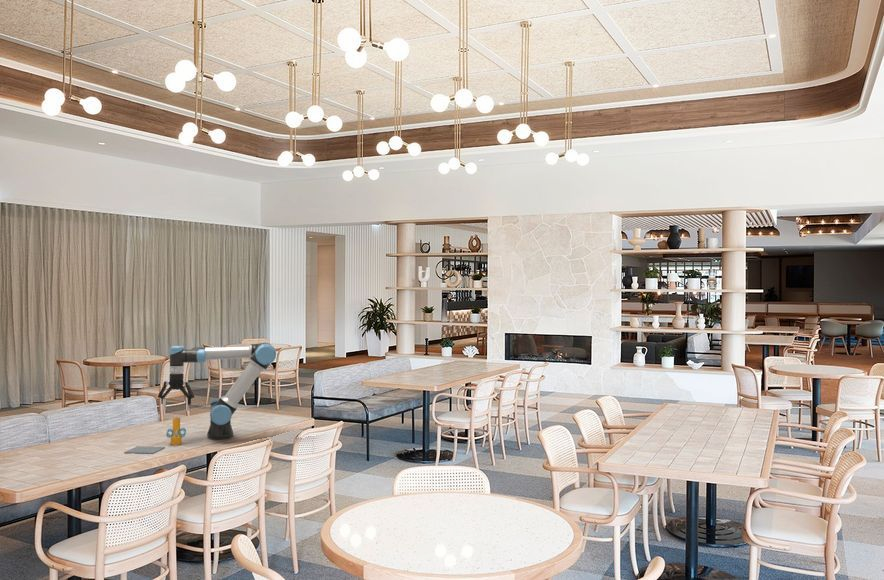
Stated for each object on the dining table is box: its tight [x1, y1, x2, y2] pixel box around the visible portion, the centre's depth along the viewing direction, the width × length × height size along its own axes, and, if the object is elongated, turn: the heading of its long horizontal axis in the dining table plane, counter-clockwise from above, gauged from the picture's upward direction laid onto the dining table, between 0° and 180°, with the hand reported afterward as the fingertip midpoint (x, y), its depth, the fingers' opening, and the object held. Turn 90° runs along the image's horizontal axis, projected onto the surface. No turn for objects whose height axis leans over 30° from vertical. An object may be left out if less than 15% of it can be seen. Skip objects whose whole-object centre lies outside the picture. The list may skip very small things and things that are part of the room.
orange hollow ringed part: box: [165, 416, 187, 446], centre depth 401 cm, size 12×10×15 cm
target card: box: [124, 445, 166, 455], centre depth 385 cm, size 16×14×1 cm
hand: (175, 410), depth 401 cm, fingers open, 13 cm apart
